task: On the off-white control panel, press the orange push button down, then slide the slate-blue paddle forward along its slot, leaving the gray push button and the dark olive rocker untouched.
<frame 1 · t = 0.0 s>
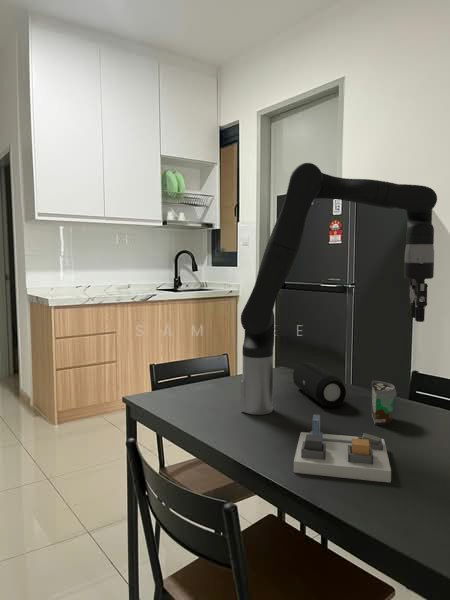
hand: (417, 319, 131), 29 cm above the table, tool pointing down, fingers open, 8 cm apart
control panel: (341, 460, 109), on the table
portable speaker: (317, 398, 158), on the table
olive rocker: (370, 439, 111), point 4 cm above the table, hinge at 12.0°
orange push button: (360, 446, 103), point 5 cm above the table, slide at 0.0 cm
gray push button: (313, 442, 106), point 5 cm above the table, slide at 0.0 cm
blue paddle: (316, 427, 114), point 5 cm above the table, slide at 0.0 cm
food container: (384, 420, 136), on the table
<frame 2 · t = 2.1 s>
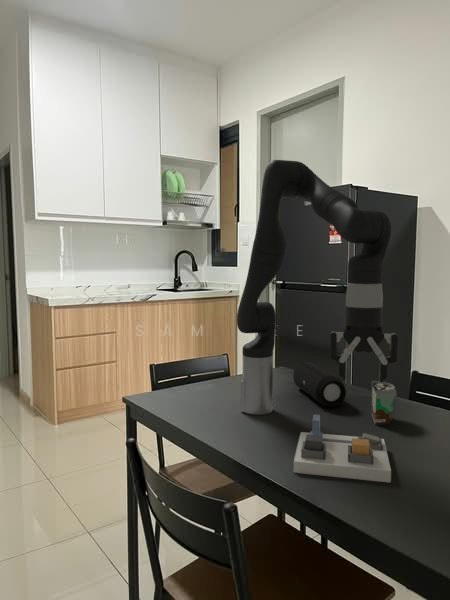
hand: (362, 380, 102), 20 cm above the table, tool pointing down, fingers open, 7 cm apart
nothing on the table moved.
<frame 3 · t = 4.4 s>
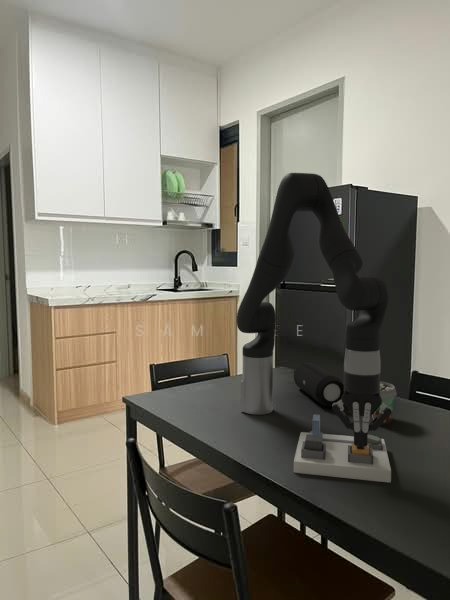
hand: (360, 447, 103), 5 cm above the table, tool pointing down, fingers closed
orange push button: (360, 452, 104), point 4 cm above the table, slide at 1.2 cm, touching gripper
everything else where it was.
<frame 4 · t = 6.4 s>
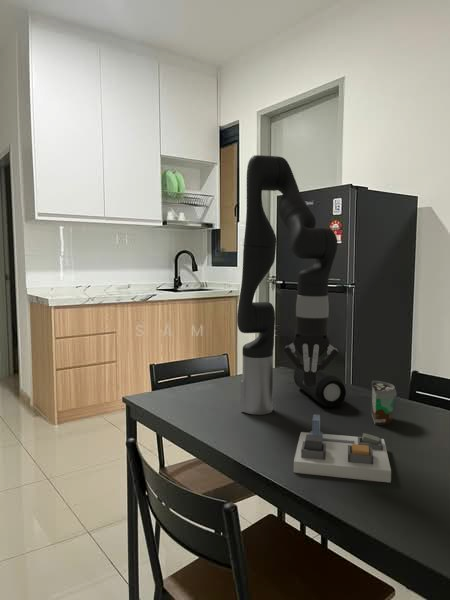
hand: (310, 386, 112), 16 cm above the table, tool pointing down, fingers closed
orange push button: (360, 452, 104), point 4 cm above the table, slide at 1.3 cm
everything else where it was.
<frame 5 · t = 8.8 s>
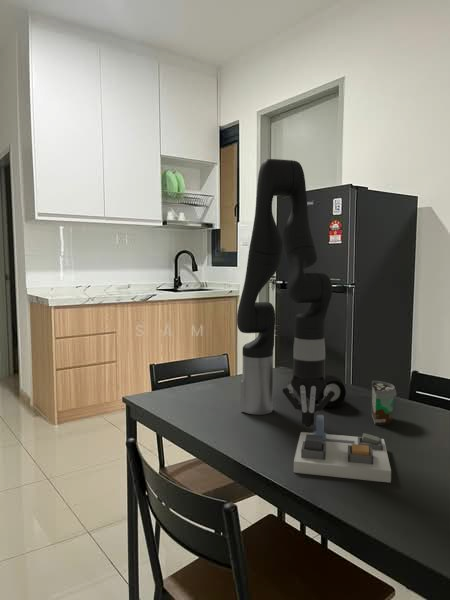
hand: (308, 426, 115), 6 cm above the table, tool pointing down, fingers closed
blue paddle: (319, 427, 114), point 5 cm above the table, slide at 0.9 cm, touching gripper
everything else where it was.
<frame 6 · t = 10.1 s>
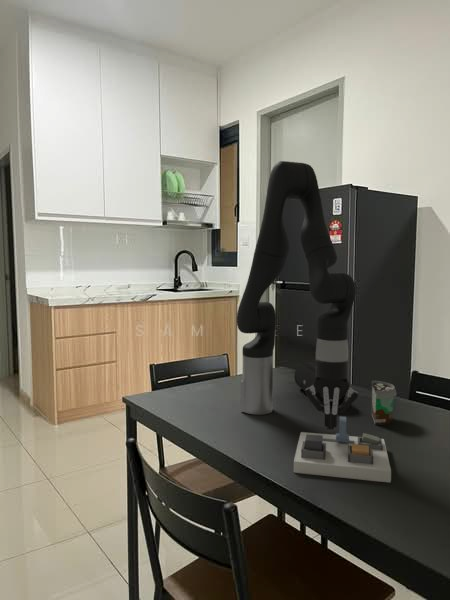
hand: (330, 428, 114), 6 cm above the table, tool pointing down, fingers closed
blue paddle: (342, 429, 113), point 5 cm above the table, slide at 6.2 cm, touching gripper
everything else where it was.
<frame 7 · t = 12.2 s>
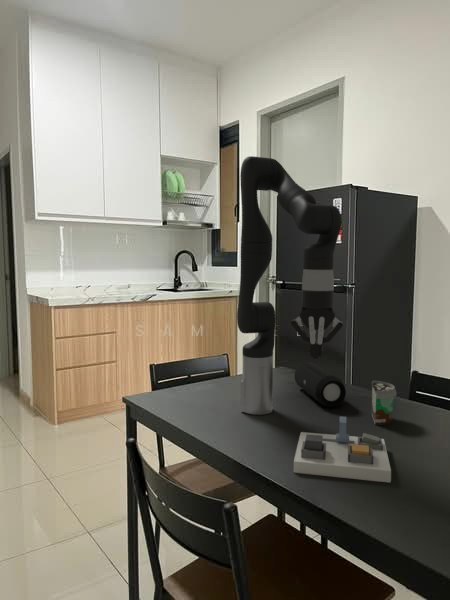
hand: (316, 358, 116), 22 cm above the table, tool pointing down, fingers closed
blue paddle: (342, 429, 113), point 5 cm above the table, slide at 6.3 cm
everything else where it was.
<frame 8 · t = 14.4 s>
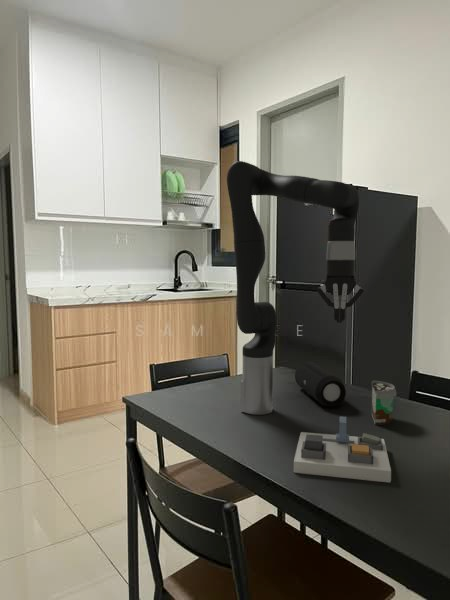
hand: (339, 322, 129), 29 cm above the table, tool pointing down, fingers closed
nothing on the table moved.
at the end: orange push button slide at 1.3 cm; blue paddle slide at 6.3 cm; gray push button slide at 0.0 cm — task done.
